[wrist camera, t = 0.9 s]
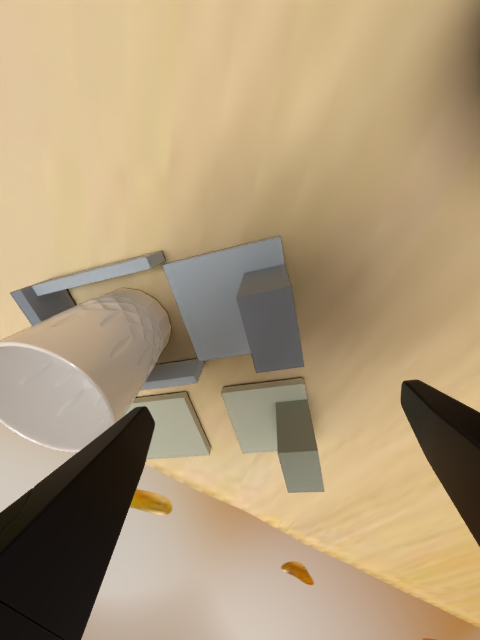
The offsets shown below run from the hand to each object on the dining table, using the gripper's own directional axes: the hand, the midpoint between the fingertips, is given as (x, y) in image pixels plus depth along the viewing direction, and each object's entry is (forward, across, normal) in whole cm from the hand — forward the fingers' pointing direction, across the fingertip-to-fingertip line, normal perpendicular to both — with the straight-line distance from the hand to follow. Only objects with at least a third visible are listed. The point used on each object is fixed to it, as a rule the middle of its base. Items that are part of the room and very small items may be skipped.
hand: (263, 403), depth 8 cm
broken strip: (+12, +9, +14) cm, 20 cm away
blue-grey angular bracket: (+12, +8, +1) cm, 14 cm away
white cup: (+12, +12, +1) cm, 17 cm away
